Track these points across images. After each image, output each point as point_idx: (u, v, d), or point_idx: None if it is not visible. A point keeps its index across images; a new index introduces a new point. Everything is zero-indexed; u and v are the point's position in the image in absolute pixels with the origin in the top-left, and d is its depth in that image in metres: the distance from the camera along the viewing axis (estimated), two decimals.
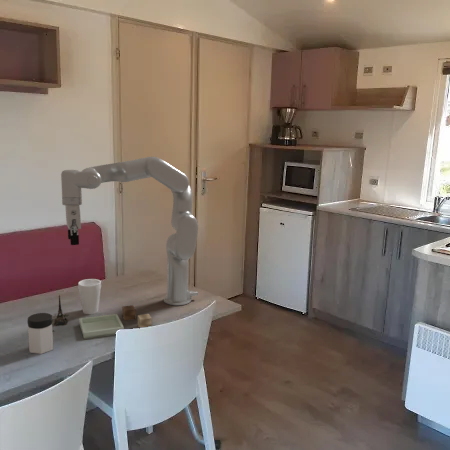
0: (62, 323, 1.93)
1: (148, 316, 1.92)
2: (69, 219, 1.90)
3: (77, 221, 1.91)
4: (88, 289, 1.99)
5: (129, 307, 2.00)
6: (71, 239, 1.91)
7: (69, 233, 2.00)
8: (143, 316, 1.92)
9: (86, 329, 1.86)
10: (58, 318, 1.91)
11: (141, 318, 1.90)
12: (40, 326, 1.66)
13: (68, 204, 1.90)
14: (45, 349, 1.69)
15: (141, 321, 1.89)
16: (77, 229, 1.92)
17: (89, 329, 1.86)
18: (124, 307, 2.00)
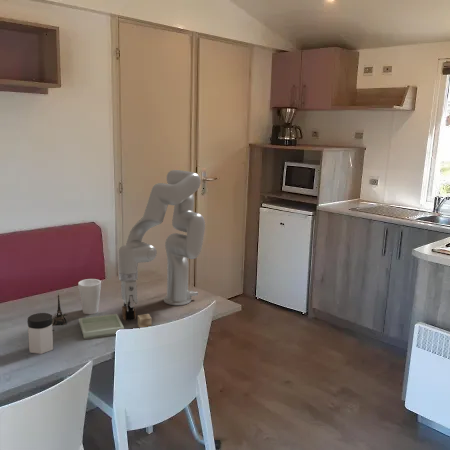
0: (61, 323, 1.93)
1: (148, 316, 1.92)
2: (126, 295, 1.93)
3: (134, 296, 1.94)
4: (88, 289, 1.99)
5: None
6: (127, 314, 1.97)
7: None
8: (143, 316, 1.92)
9: (86, 329, 1.86)
10: (57, 318, 1.92)
11: (141, 318, 1.90)
12: (40, 326, 1.66)
13: (125, 280, 1.93)
14: (45, 349, 1.69)
15: (141, 321, 1.89)
16: None
17: (89, 329, 1.86)
18: (123, 307, 2.00)
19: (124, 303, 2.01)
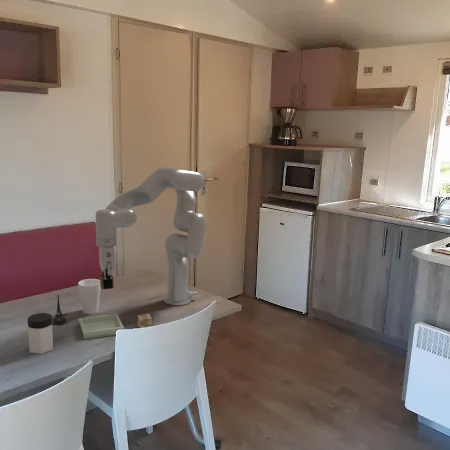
0: (61, 322, 1.93)
1: (148, 316, 1.92)
2: (104, 261, 1.82)
3: (112, 263, 1.83)
4: (88, 289, 1.99)
5: None
6: (104, 283, 1.85)
7: None
8: (143, 316, 1.92)
9: (86, 329, 1.86)
10: (57, 317, 1.92)
11: (141, 318, 1.90)
12: (40, 326, 1.66)
13: (103, 246, 1.82)
14: (45, 349, 1.69)
15: (141, 321, 1.89)
16: (111, 273, 1.85)
17: (89, 329, 1.86)
18: (101, 275, 1.88)
19: (102, 271, 1.90)
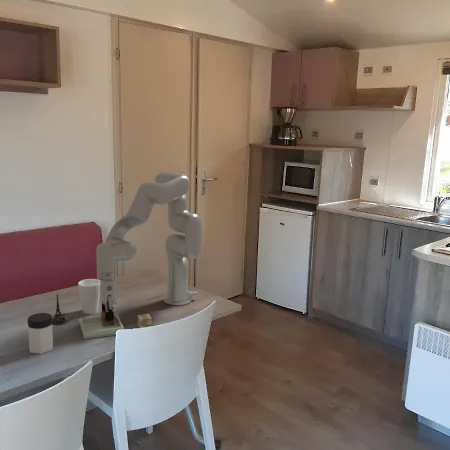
0: (60, 322, 1.94)
1: (148, 316, 1.92)
2: (104, 295, 1.84)
3: (112, 296, 1.86)
4: (88, 289, 1.99)
5: None
6: (106, 315, 1.87)
7: (103, 307, 1.94)
8: (143, 316, 1.92)
9: (86, 329, 1.86)
10: (56, 317, 1.92)
11: (141, 318, 1.90)
12: (40, 326, 1.66)
13: (103, 279, 1.84)
14: (45, 349, 1.69)
15: (141, 321, 1.89)
16: None
17: (89, 329, 1.86)
18: (102, 312, 1.91)
19: (102, 301, 1.94)
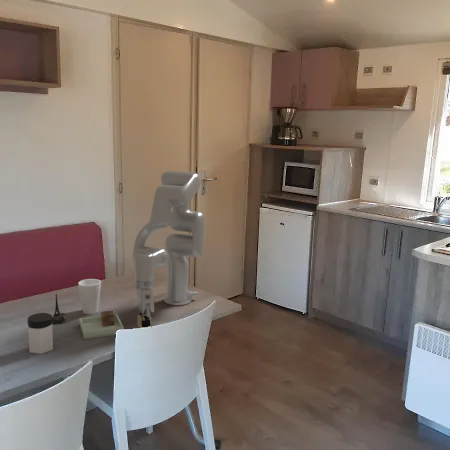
0: (59, 322, 1.94)
1: None
2: (143, 303, 1.85)
3: (150, 305, 1.86)
4: (88, 289, 1.99)
5: (108, 313, 1.91)
6: (143, 324, 1.89)
7: None
8: None
9: (86, 329, 1.86)
10: (55, 317, 1.93)
11: (141, 318, 1.90)
12: (40, 326, 1.66)
13: (142, 288, 1.85)
14: (45, 349, 1.69)
15: (141, 321, 1.89)
16: None
17: (89, 329, 1.86)
18: (102, 312, 1.91)
19: (140, 312, 1.93)
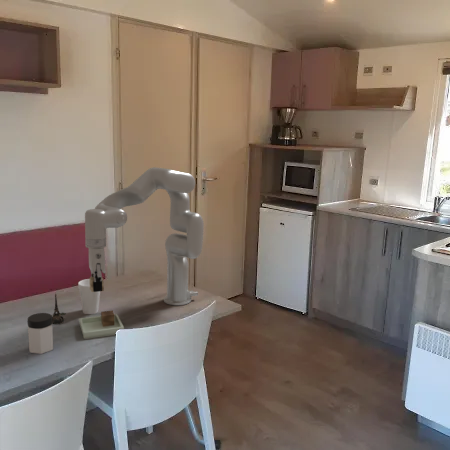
0: (58, 321, 1.94)
1: None
2: (93, 263, 1.75)
3: (102, 265, 1.76)
4: (88, 289, 1.99)
5: (108, 313, 1.91)
6: (94, 285, 1.79)
7: None
8: None
9: (86, 329, 1.86)
10: (54, 316, 1.93)
11: (92, 279, 1.79)
12: (40, 326, 1.66)
13: (92, 247, 1.75)
14: (45, 349, 1.69)
15: (92, 282, 1.79)
16: (101, 275, 1.78)
17: (89, 329, 1.86)
18: (102, 312, 1.91)
19: (92, 274, 1.83)
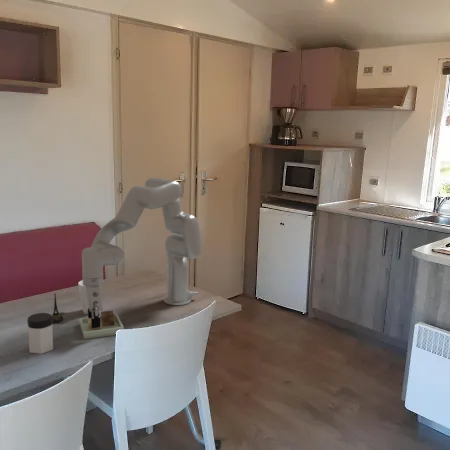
0: (58, 321, 1.95)
1: None
2: (90, 301, 1.78)
3: (99, 303, 1.79)
4: None
5: (108, 313, 1.91)
6: (92, 322, 1.79)
7: (89, 312, 1.88)
8: None
9: (86, 329, 1.86)
10: (54, 316, 1.93)
11: (90, 321, 1.83)
12: (40, 326, 1.66)
13: (89, 285, 1.78)
14: (45, 349, 1.69)
15: (90, 324, 1.82)
16: None
17: None
18: (102, 312, 1.91)
19: None
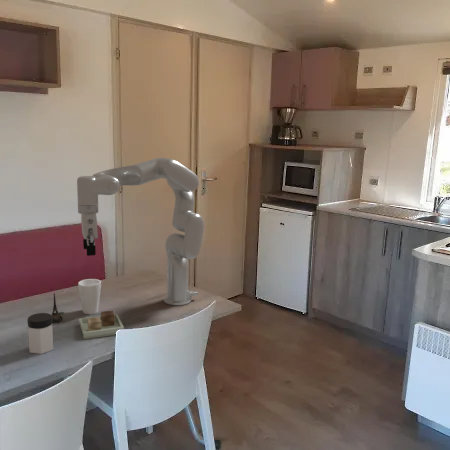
0: (57, 321, 1.95)
1: (98, 319, 1.85)
2: (85, 228, 1.79)
3: (94, 230, 1.80)
4: (88, 289, 1.99)
5: (108, 313, 1.91)
6: (87, 249, 1.81)
7: (84, 243, 1.89)
8: (93, 319, 1.85)
9: (86, 329, 1.86)
10: (53, 316, 1.94)
11: (90, 321, 1.83)
12: (40, 326, 1.66)
13: (84, 212, 1.79)
14: (45, 349, 1.69)
15: (90, 324, 1.82)
16: (94, 239, 1.81)
17: None
18: (102, 312, 1.91)
19: (84, 237, 1.89)
